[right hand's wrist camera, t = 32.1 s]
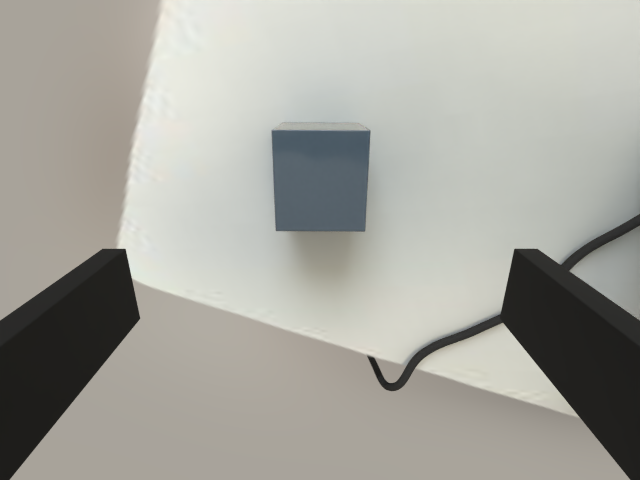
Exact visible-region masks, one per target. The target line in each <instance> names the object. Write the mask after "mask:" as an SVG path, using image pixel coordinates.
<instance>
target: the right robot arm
mask: <svg viewBox="0 0 640 480" xmlns="http://www.w3.org/2000/svg"><path fill="white" fill-rule="evenodd" d="M639 225H640V214H639V215H637V216H636V217H634V218H632V219H631V220H629V221H627V222H626V223H624V224H622V225H620V226H619V227H617V228H615V229H613V230H611V231H609V232H607V233H605V234H603V235H601V236H600V237H598V238H596V239H594V240H592V241H591V242H589V243H587V244H586V245H584V246H583V247H581V248H580V249H579V250H577V251H576V252H575V253H574V254H572V255H571V256H570V257H569V258H568V259H567V260H566V261H565V262H564V263H563V264H562V265H560V264H558V263H557V262H555V261H554V260H552V259H551V258H550V257H548V256H547V255H545V254H544V253H542V252H541V251H540V250H538V249H514V254H513V259H512V263H511V268H510V273H509V278H508V282H507V287H506V292H505V297H504V301H503V306H502V311H501V314H500V315H498V316H496V317H493V318H491V319H489V320H487V321H484V322H482V323H480V324H478V325H476V326H474V327H472V328H469V329H467V330H464V331H462V332H459V333H456V334H454V335H451V336H448V337H445V338H443V339H440V340H438V341H436V342H434V343H432V344H430V345H428V346H426V347H425V348H423V349H422V350H420V351H419V352H418V353H417V354H415V356H414V357H413V358H412V359H411V360H410V362H409V363H408V365H407V366H406V368H405V370H404V372H403V373H402V375H401V377H400V378H399V379H398V381H396V382H395V383H388V382H387V381H386V380H385V379H384V377H383V375H382V372H381V370H380V368H379V366H378V364H377V362H376V360H375V358H374V357H372V356H369V355H367V357H368V359H369V362H370V364H371V366H372V368H373V370H374V373H375V375H376V377H377V379H378V381H379V383H380V384H381V386H382V387H383V388H384V389H386V390H389V391H396V390H399V389H400V388H402V387H403V386H404V385H405V383H406V382H407V381H408V379H409V377H410V376H411V374H412V372H413V371H414V369H415V367H416V366H417V365H418V363H419V362H420V361H421V360H422V359H423V358H425V357H426V356H427V355H429V354H431V353H432V352H434V351H436V350H438V349H440V348H442V347H445V346H447V345H450V344H453V343H456V342H458V341H461V340H464V339H467V338H469V337H472V336H474V335H476V334H478V333H481V332H483V331H485V330H487V329H489V328H492V327H494V326H496V325H498V324H501V323H504V324H505V326H506V327H507V328H508V329H509V330H510V332H511V333H512V334H513V335H514V337H515V338H516V339H517V340H518V342H519V343H520V344H521V345H522V346H523V348H524V349H525V350H526V351H527V353H528V354H529V355H530V356H531V358H532V359H533V360H534V361H535V363H536V364H537V365H538V366H539V367H540V369H541V370H542V371H543V372H544V374H545V375H546V376H547V377H548V379H549V380H550V381H551V382H552V383H553V385H554V386H555V387H556V388H557V390H558V391H559V392H560V393H561V395H562V396H563V397H564V398H565V400H566V401H567V402H568V403H569V404H570V406H571V407H572V408H573V409H574V411H575V412H576V413H577V414H578V416H579V417H580V418H581V419H582V420H583V422H584V423H585V424H586V425H587V427H588V428H589V429H590V430H591V432H592V433H593V434H594V435H595V437H596V438H597V439H598V440H599V441H600V443H601V444H602V445H603V446H604V448H605V449H606V450H607V451H608V453H609V454H610V455H611V456H612V457H613V459H614V460H615V461H616V462H617V464H618V465H619V466H620V467H621V469H622V470H623V471H624V472H625V473H626V475H627V476H628V477H629V478H630V480H640V321H639V320H638V319H637V318H635V317H634V316H632V315H631V314H629V313H628V312H627V311H625V310H624V309H622V308H621V307H619V306H618V305H617V304H615V303H614V302H612V301H611V300H609V299H608V298H607V297H605V296H604V295H602V294H601V293H599V292H598V291H597V290H595V289H594V288H592V287H591V286H589V285H588V284H587V283H585V282H584V281H582V280H581V279H580V278H578V277H577V276H575V275H574V274H572V273H571V272H570V271H569V270H570V269H571V268H572V267H573V266H574V265H575V264H576V263H577V262H579V261H580V260H581V259H582V258H584V257H585V256H586V255H588V254H589V253H591V252H592V251H594V250H595V249H597V248H599V247H600V246H602V245H604V244H606V243H608V242H610V241H612V240H614V239H616V238H618V237H620V236H622V235H623V234H625V233H627V232H629V231H631V230H632V229H634V228H636V227H638V226H639ZM139 319H140V316H139V311H138V306H137V301H136V297H135V292H134V287H133V282H132V278H131V273H130V268H129V263H128V259H127V254H126V249H102V250H100V251H99V252H98V253H96V254H95V255H93V256H92V257H91V258H89V259H88V260H86V261H85V262H83V263H82V264H81V265H79V266H78V267H76V268H75V269H73V270H72V271H71V272H69V273H68V274H66V275H65V276H63V277H62V278H61V279H59V280H58V281H56V282H55V283H53V284H52V285H51V286H49V287H48V288H46V289H45V290H43V291H42V292H41V293H39V294H38V295H36V296H35V297H33V298H32V299H31V300H29V301H28V302H26V303H25V304H23V305H22V306H21V307H19V308H18V309H16V310H15V311H13V312H12V313H11V314H9V315H8V316H6V317H5V318H3V319H2V320H1V321H0V480H10V478H11V477H12V476H13V475H14V473H15V472H16V471H17V470H18V469H19V467H20V466H21V465H22V464H23V462H24V461H25V460H26V459H27V457H28V456H29V455H30V454H31V452H32V451H33V450H34V449H35V448H36V446H37V445H38V444H39V443H40V441H41V440H42V439H43V438H44V436H45V435H46V434H47V433H48V432H49V430H50V429H51V428H52V427H53V425H54V424H55V423H56V422H57V420H58V419H59V418H60V417H61V415H62V414H63V413H64V412H65V411H66V409H67V408H68V407H69V406H70V404H71V403H72V402H73V401H74V400H75V398H76V397H77V396H78V395H79V393H80V392H81V391H82V390H83V388H84V387H85V386H86V385H87V383H88V382H89V381H90V380H91V379H92V377H93V376H94V375H95V374H96V372H97V371H98V370H99V369H100V367H101V366H102V365H103V364H104V362H105V361H106V360H107V359H108V358H109V356H110V355H111V354H112V353H113V351H114V350H115V349H116V348H117V346H118V345H119V344H120V343H121V342H122V340H123V339H124V338H125V337H126V335H127V334H128V333H129V332H130V330H131V329H132V328H133V327H134V326H135V324H136V323H137V322H138V321H139Z"/></svg>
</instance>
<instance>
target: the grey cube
mask: <svg viewBox="0 0 640 480" xmlns="http://www.w3.org/2000/svg"><path fill="white" fill-rule="evenodd" d="M369 147H370V130H369V129H367V128H366V127H364V126H363V125H361V124H360V123H281V124H280V125H278V126H277V127H275V128H274V129H272V150H273V175H274V199H275V223H276V231H365V222H366V203H367V184H368V165H369Z"/></svg>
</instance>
